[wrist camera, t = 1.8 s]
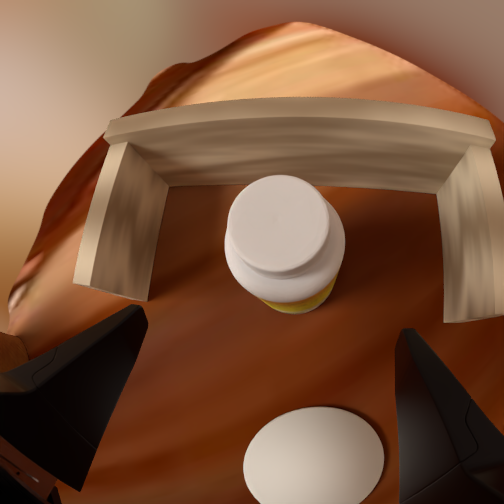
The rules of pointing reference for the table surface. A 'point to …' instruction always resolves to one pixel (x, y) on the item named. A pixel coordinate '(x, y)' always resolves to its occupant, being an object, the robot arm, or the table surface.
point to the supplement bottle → (284, 243)
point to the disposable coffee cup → (11, 352)
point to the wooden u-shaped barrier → (306, 168)
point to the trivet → (314, 458)
